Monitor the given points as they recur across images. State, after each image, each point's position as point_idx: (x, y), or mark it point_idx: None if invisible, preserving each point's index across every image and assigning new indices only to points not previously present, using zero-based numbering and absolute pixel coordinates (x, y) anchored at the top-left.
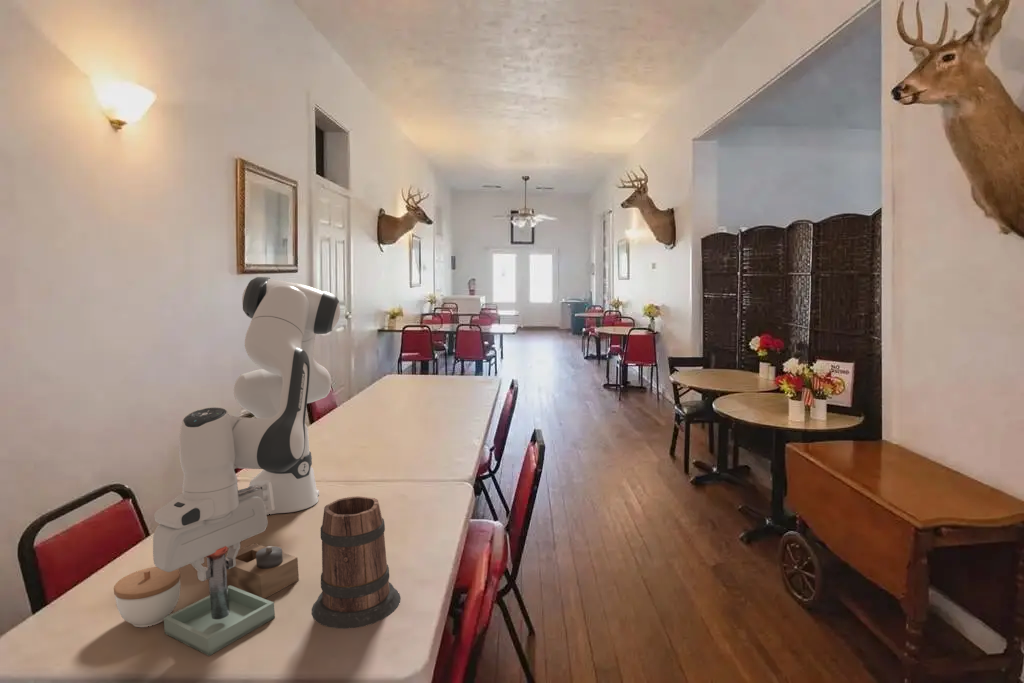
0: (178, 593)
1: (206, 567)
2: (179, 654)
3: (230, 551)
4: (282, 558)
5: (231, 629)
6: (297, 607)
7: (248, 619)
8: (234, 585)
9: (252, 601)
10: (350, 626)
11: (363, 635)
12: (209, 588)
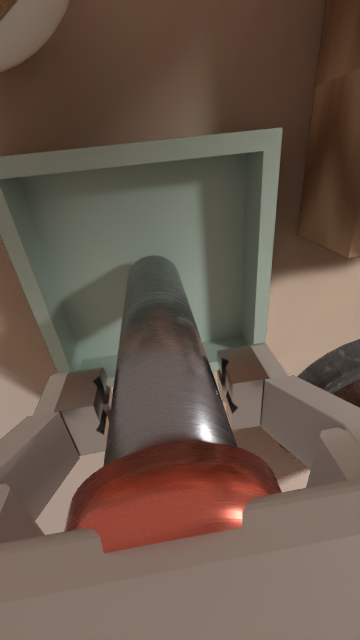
0: (54, 12)
1: (97, 423)
2: (20, 310)
3: (300, 424)
4: None
5: None
6: (303, 339)
7: None
8: (329, 44)
9: (251, 288)
10: (287, 450)
11: (277, 470)
12: (121, 327)
